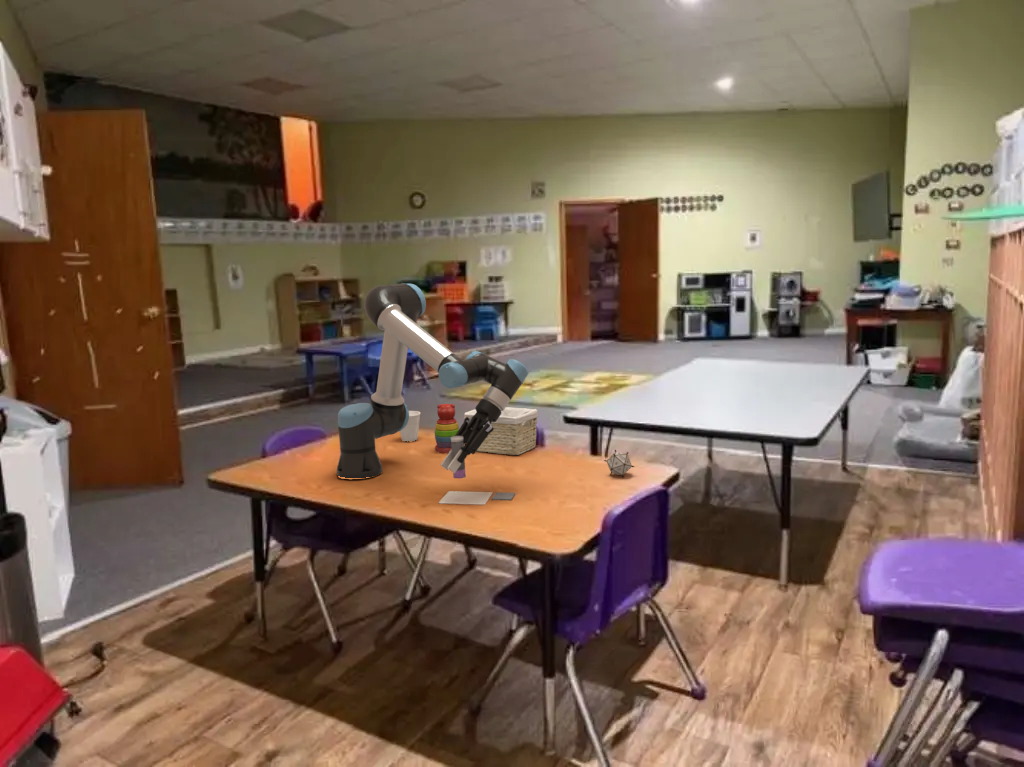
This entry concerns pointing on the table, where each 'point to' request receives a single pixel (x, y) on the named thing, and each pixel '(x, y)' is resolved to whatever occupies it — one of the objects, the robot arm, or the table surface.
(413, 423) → the cup
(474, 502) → the paper
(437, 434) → the stacking bear
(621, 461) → the game die
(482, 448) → the storage basket
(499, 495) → the rest pad
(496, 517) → the table surface
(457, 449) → the marker
